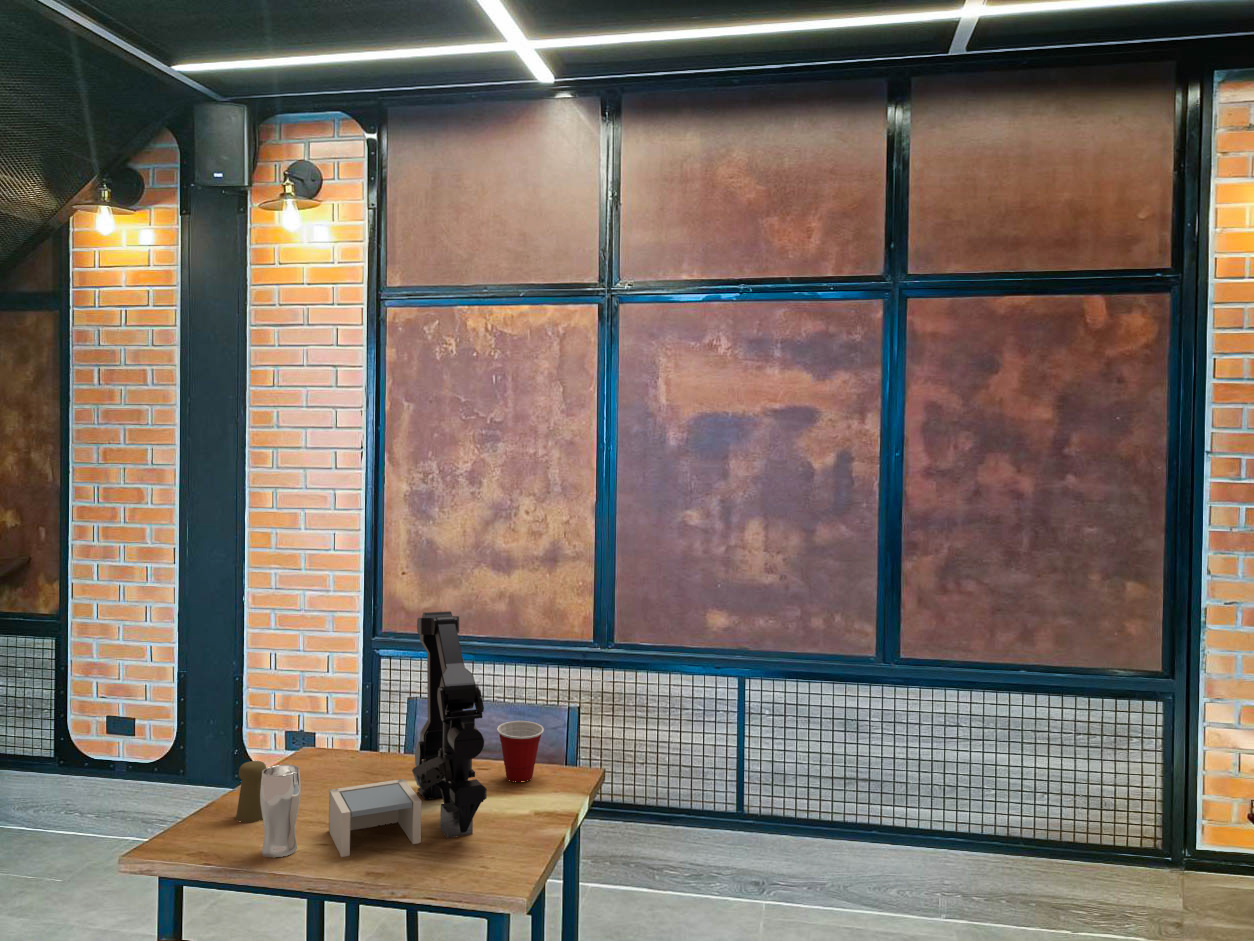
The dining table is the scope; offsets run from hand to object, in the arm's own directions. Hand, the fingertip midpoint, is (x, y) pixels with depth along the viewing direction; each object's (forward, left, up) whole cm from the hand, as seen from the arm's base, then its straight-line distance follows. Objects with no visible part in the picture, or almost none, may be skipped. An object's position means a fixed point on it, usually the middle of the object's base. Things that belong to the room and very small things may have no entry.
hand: (456, 823), depth 176 cm
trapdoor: (-3, -15, +6) cm, 16 cm away
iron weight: (0, 0, -2) cm, 2 cm away
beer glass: (-5, -32, -2) cm, 32 cm away
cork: (-25, -35, -2) cm, 43 cm away
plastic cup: (-23, +22, -2) cm, 32 cm away
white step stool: (-4, -15, -1) cm, 16 cm away
